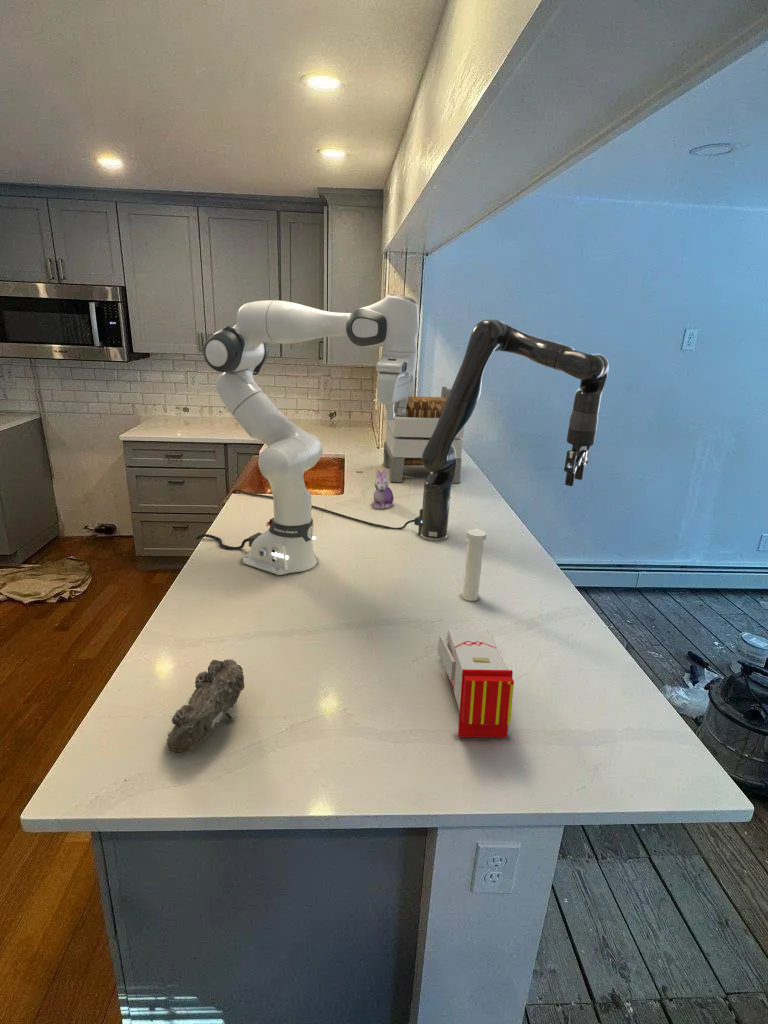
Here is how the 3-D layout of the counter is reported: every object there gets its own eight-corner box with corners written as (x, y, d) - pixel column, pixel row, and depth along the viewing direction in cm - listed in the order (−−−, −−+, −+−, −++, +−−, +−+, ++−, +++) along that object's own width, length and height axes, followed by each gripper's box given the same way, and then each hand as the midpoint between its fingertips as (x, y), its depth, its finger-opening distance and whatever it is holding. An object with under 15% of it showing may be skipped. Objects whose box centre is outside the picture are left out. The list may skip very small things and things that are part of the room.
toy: (488, 613, 130) (523, 677, 101) (484, 667, 133) (517, 744, 104) (435, 612, 130) (455, 676, 101) (432, 666, 133) (451, 743, 103)
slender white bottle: (461, 599, 156) (468, 536, 150) (462, 592, 160) (469, 530, 154) (477, 601, 156) (484, 537, 149) (478, 594, 159) (485, 532, 153)
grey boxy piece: (382, 463, 289) (386, 382, 275) (445, 464, 293) (451, 384, 279) (390, 482, 257) (394, 392, 243) (460, 483, 261) (468, 394, 247)
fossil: (192, 660, 117) (244, 628, 112) (224, 691, 120) (276, 661, 115) (142, 746, 98) (202, 712, 93) (182, 779, 101) (242, 748, 96)
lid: (466, 541, 150) (466, 534, 149) (467, 534, 155) (467, 528, 154) (485, 543, 149) (486, 537, 148) (486, 536, 154) (486, 530, 153)
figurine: (377, 511, 221) (379, 474, 216) (366, 503, 229) (367, 467, 224) (399, 508, 225) (401, 471, 220) (387, 500, 233) (388, 465, 228)
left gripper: (399, 359, 154) (396, 410, 159) (373, 364, 136) (371, 422, 141) (421, 360, 152) (418, 412, 157) (398, 366, 134) (395, 424, 139)
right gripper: (577, 422, 167) (568, 474, 173) (561, 428, 156) (552, 484, 162) (603, 425, 163) (593, 479, 169) (588, 433, 152) (578, 490, 158)
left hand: (396, 417), depth 149 cm, fingers open, 8 cm apart
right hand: (573, 482), depth 165 cm, fingers open, 8 cm apart
